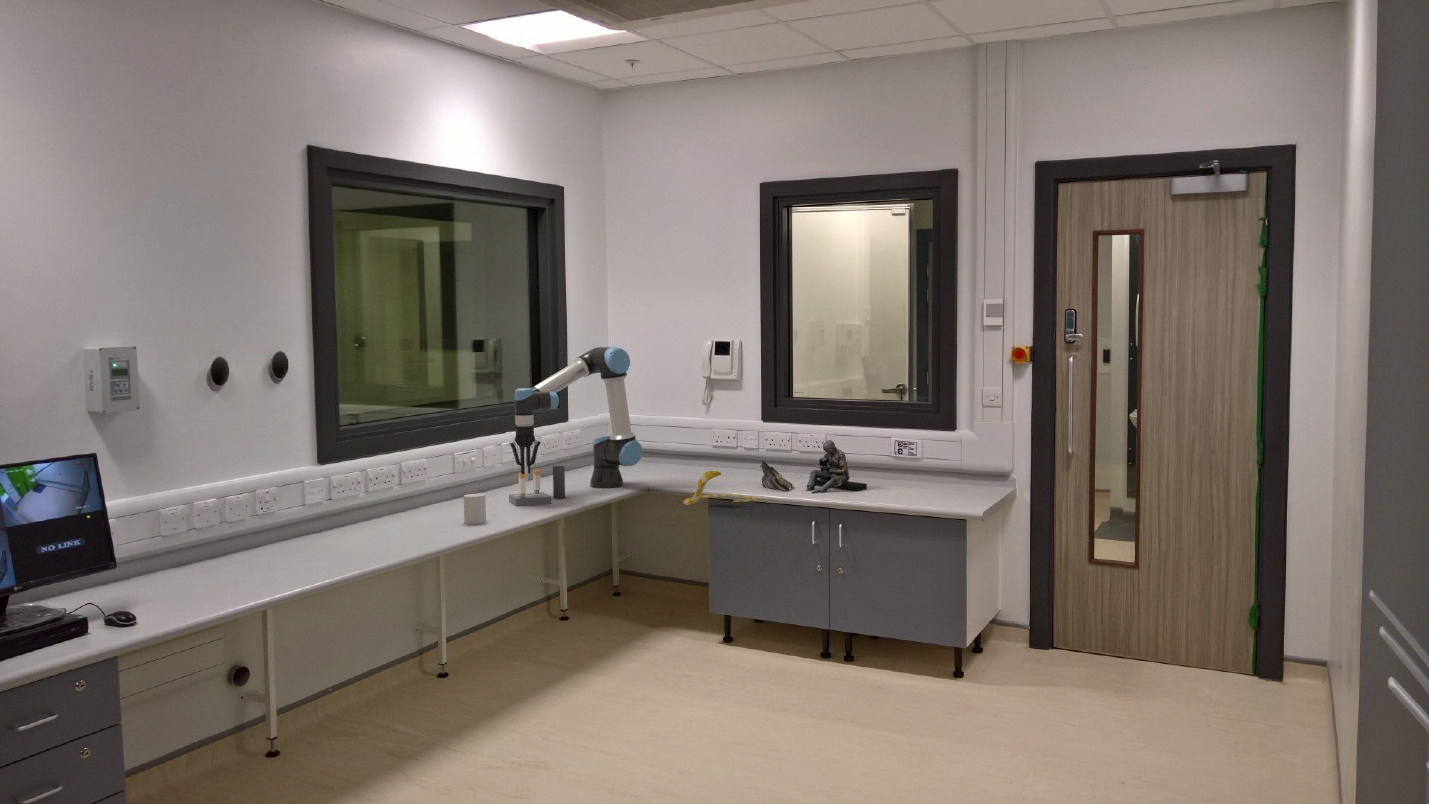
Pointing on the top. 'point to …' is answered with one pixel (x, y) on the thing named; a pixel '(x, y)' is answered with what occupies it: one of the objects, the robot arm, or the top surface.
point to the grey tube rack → (530, 499)
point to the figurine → (832, 472)
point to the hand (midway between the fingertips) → (525, 481)
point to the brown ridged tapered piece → (773, 478)
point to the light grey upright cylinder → (474, 509)
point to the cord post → (558, 482)
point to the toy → (697, 495)
